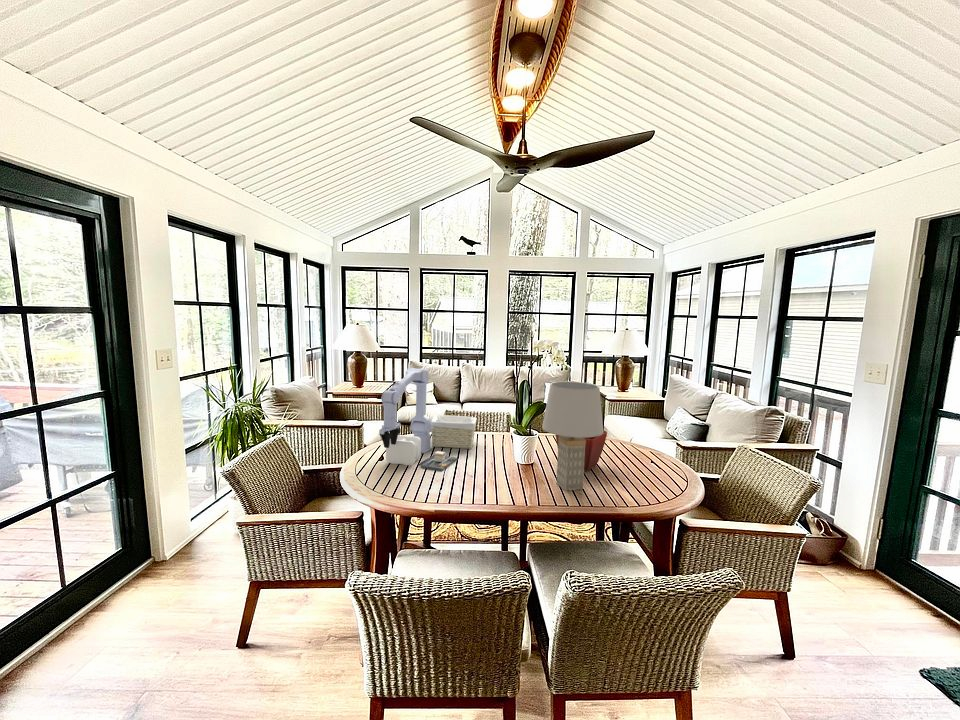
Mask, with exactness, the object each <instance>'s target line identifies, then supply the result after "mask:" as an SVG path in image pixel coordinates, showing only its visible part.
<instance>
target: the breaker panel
mask: <svg viewBox="0 0 960 720" xmlns="http://www.w3.org/2000/svg"><path fill="white" fill-rule="evenodd" d="M455 462H458V457H457V456H450V455H449V456H448V455H445V461H443V462H437V461H434V457H433V458H431V459H430V460H428V461H426V462H425V463H423V464H422V465H421V466H420V468H421V469H427V470H433V471H437V472H443V471H444V470H446V469H447V468H449V467H450V466H452V464H454V463H455Z"/></svg>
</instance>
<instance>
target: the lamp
mask: <svg viewBox="0 0 960 720" xmlns="http://www.w3.org/2000/svg"><path fill="white" fill-rule="evenodd" d="M541 429H542V430H543V431H545V432H547V433H549V434H551V435H555V436H556V435H560V436H558V447H557V465H556V467H557V468H556V485H558V486H559V487H560V488H562V489H563V490H564V492H568V491H567V490H569V491H577V490H576V489H580V490H583V489H584V477H585V474H584V472H585V471H584V458H585V445H586V440H585V439H583V438H587V437H596V436H600V435H602V434H603V431H604V425H603V413H602V403H601V392H600V386H599V385H597V384H594V383H589V382H581V381H554V382H553V381H552V382H551V383H550V385H549V390H548V396H547V400H546V405H545V410H544V415H543V420H542V427H541ZM562 489H561V490H562Z"/></svg>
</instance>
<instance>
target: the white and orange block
mask: <svg viewBox="0 0 960 720" xmlns="http://www.w3.org/2000/svg"><path fill="white" fill-rule="evenodd" d="M433 455H434V461H437V462H443V461H445V456H446V452H445V451H438V450H437V451H435V452H434V454H433Z"/></svg>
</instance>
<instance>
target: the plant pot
mask: <svg viewBox="0 0 960 720" xmlns="http://www.w3.org/2000/svg"><path fill="white" fill-rule="evenodd" d="M607 435H608V431H606V430H603V434H602V435H600V436H596V437H587V438H583V439H585V440H586V445H585V458H584V472H588V471H589V469H590V470H591V469H593V468H594V467H595V466H597V464H598V463H599V462H600V461H599V460H600V458H601V455H602V453H603V450H604V446H605V443H606V440H607ZM558 436H560V435H555V439H556V440H555V441H556V447H557V448H558ZM592 467H593V468H592Z"/></svg>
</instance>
